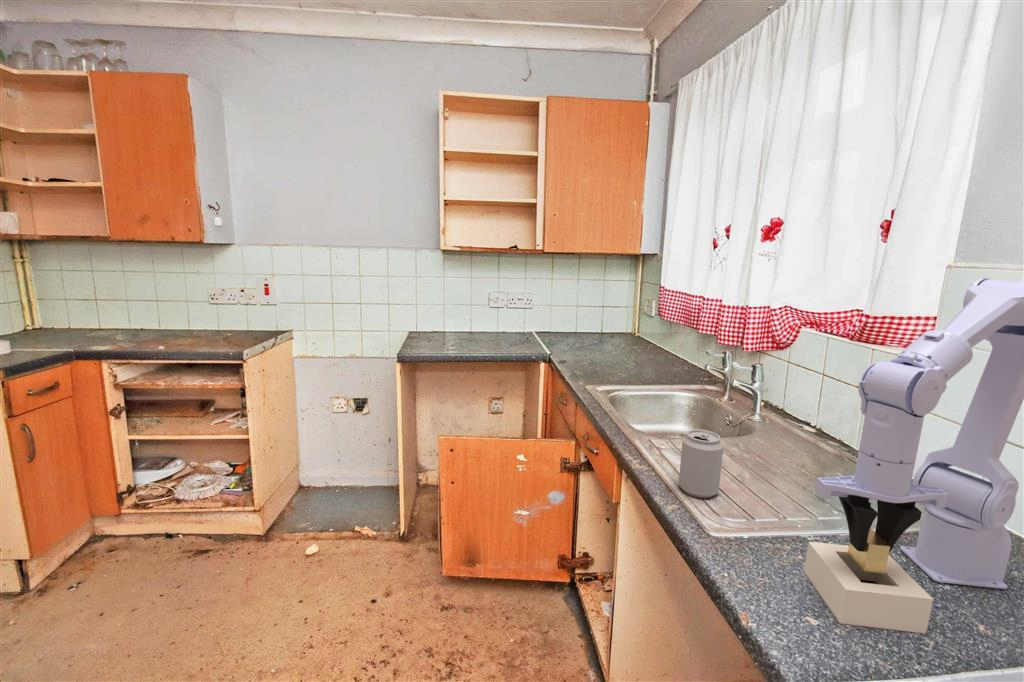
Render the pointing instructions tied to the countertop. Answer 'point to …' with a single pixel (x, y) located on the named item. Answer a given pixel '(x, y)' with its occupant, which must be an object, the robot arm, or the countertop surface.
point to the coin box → (867, 591)
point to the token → (871, 554)
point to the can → (701, 463)
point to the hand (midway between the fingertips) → (869, 548)
